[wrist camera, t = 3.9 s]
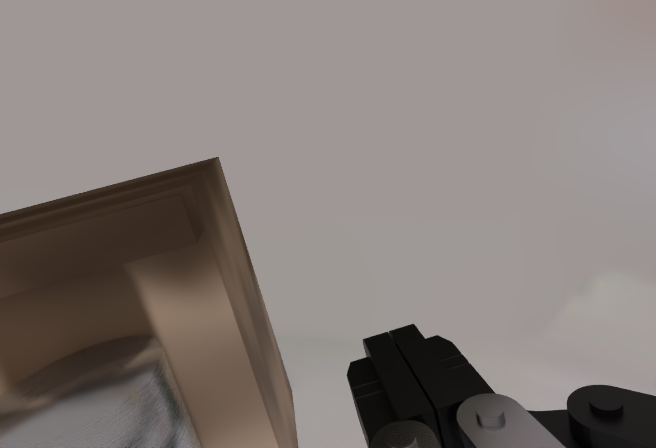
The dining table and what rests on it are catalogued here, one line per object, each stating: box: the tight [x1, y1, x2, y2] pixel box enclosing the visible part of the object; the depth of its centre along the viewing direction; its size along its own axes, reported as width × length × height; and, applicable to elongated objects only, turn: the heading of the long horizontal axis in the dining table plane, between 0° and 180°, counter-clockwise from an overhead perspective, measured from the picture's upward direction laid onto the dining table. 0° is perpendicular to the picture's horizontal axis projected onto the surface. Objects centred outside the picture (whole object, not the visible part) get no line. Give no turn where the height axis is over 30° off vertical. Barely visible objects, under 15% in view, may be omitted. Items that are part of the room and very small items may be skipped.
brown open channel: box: [0, 157, 298, 448], centre depth 16 cm, size 12×17×10 cm
